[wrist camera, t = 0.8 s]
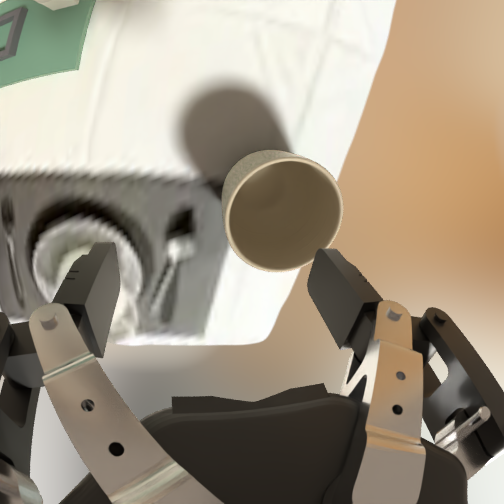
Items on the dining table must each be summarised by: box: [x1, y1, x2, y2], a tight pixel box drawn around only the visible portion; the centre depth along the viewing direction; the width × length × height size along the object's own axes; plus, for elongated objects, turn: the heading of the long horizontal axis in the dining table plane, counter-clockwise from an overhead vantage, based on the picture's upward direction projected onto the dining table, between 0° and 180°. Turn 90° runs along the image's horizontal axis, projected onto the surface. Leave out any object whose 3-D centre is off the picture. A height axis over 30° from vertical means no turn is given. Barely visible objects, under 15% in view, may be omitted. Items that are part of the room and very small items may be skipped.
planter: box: [222, 150, 343, 272], centre depth 31 cm, size 12×12×11 cm
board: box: [0, 0, 96, 88], centre depth 14 cm, size 16×20×3 cm
